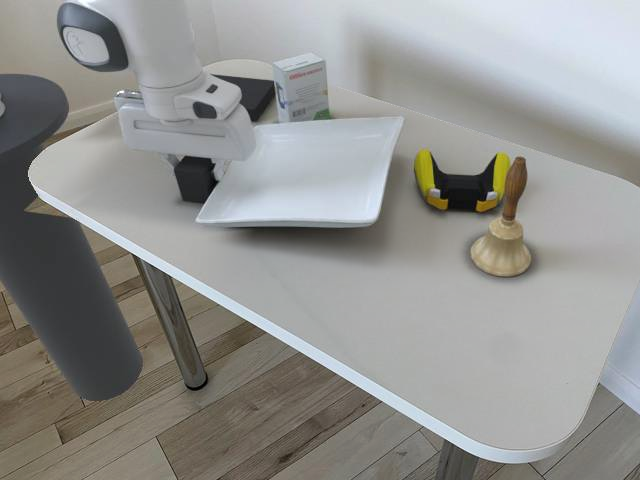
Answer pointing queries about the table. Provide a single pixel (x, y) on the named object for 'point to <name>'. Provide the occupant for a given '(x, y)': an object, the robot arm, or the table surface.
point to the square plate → (308, 175)
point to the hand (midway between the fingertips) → (199, 176)
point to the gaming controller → (461, 184)
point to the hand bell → (505, 232)
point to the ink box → (301, 88)
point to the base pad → (252, 93)
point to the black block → (195, 179)
